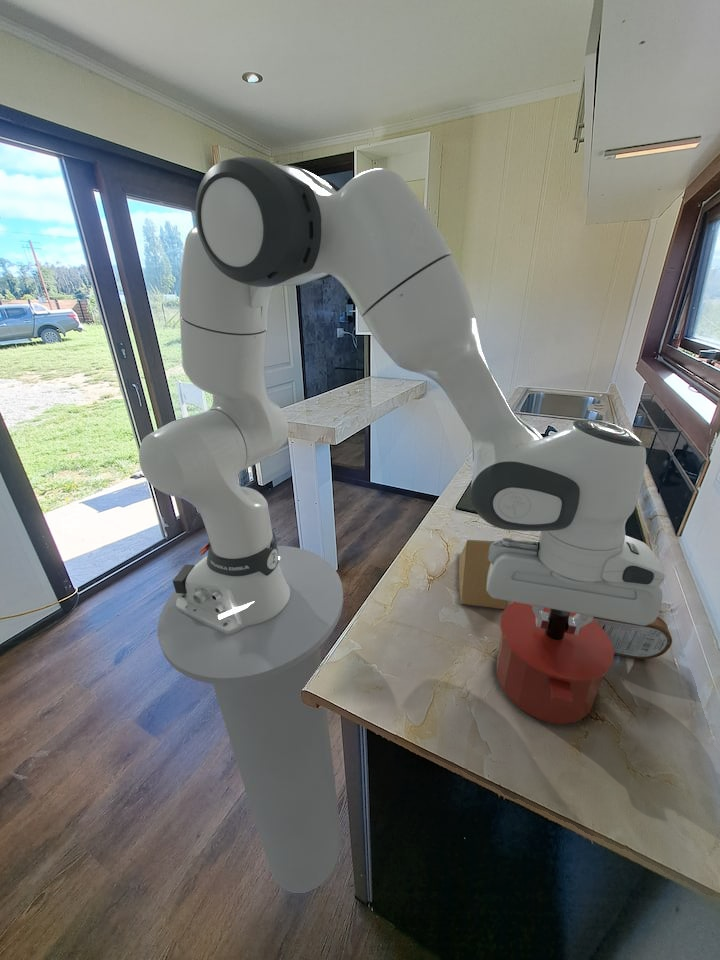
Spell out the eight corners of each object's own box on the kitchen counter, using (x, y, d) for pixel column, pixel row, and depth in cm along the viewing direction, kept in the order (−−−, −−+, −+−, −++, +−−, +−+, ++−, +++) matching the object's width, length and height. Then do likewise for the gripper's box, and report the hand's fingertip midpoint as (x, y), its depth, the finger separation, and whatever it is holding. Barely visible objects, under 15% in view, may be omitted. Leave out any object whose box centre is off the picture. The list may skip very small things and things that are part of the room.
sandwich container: (497, 559, 86) (506, 501, 79) (506, 609, 72) (518, 544, 66) (458, 555, 88) (463, 498, 81) (459, 603, 74) (466, 539, 68)
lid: (500, 669, 51) (505, 639, 49) (499, 594, 64) (503, 568, 61) (625, 698, 47) (638, 667, 45) (598, 612, 59) (607, 584, 57)
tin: (657, 651, 63) (674, 613, 59) (665, 667, 60) (683, 629, 57) (557, 632, 67) (567, 596, 63) (560, 647, 64) (571, 610, 61)
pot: (496, 727, 53) (505, 681, 49) (496, 624, 69) (503, 583, 65) (607, 757, 49) (627, 711, 45) (580, 641, 65) (592, 599, 61)
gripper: (490, 550, 49) (479, 629, 55) (682, 578, 43) (645, 663, 49) (490, 524, 54) (480, 598, 60) (661, 546, 48) (631, 626, 54)
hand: (556, 627), depth 54 cm, fingers closed on lid, 2 cm apart
